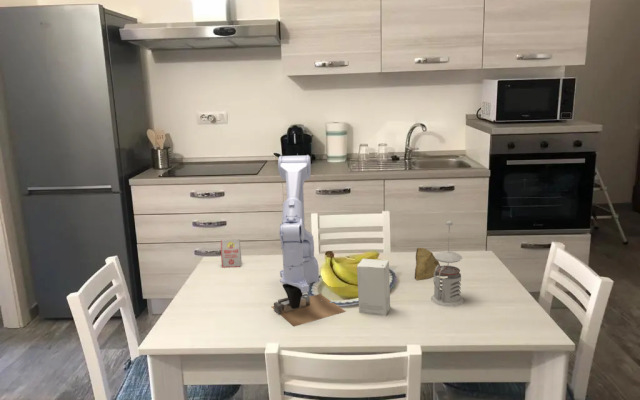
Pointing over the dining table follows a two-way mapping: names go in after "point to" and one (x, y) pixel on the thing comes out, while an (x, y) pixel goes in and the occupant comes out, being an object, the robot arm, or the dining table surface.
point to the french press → (447, 279)
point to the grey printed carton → (230, 253)
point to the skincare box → (373, 286)
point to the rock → (425, 264)
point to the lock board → (309, 310)
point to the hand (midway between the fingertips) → (295, 307)
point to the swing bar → (304, 302)
